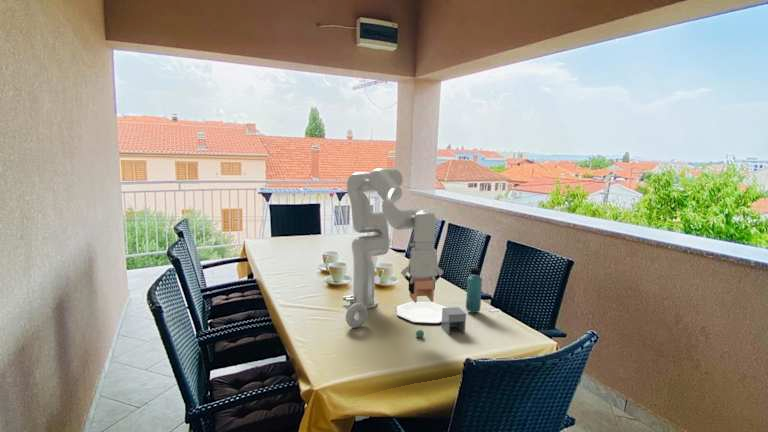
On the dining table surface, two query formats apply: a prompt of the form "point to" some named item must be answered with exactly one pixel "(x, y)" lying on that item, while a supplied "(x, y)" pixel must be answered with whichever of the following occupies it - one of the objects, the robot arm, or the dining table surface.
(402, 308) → the plate
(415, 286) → the pink open box
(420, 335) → the marble
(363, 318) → the donut
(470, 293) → the beverage bottle
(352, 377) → the dining table surface
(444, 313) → the open-front grey box
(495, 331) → the dining table surface
